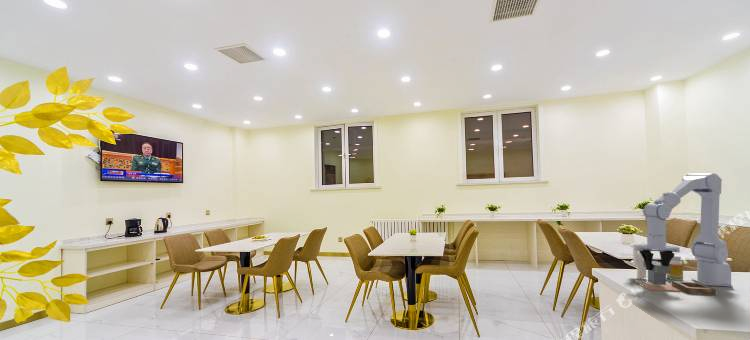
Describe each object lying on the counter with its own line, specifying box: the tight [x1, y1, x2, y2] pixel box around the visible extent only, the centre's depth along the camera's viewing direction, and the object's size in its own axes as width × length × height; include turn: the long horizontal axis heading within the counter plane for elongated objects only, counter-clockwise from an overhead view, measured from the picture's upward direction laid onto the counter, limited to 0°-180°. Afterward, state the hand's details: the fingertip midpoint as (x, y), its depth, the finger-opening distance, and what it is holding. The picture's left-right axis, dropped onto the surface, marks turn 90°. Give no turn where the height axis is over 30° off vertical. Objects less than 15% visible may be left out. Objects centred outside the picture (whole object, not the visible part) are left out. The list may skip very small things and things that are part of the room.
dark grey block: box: [644, 260, 671, 285], centre depth 136 cm, size 9×4×8 cm, turn 170°
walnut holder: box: [671, 280, 717, 296], centre depth 132 cm, size 9×9×2 cm
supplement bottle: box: [666, 254, 684, 281], centre depth 148 cm, size 5×5×10 cm
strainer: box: [630, 242, 652, 280], centre depth 148 cm, size 7×7×15 cm
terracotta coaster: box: [634, 280, 681, 293], centre depth 136 cm, size 10×10×1 cm
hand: (656, 270), depth 137 cm, fingers closed on dark grey block, 4 cm apart
